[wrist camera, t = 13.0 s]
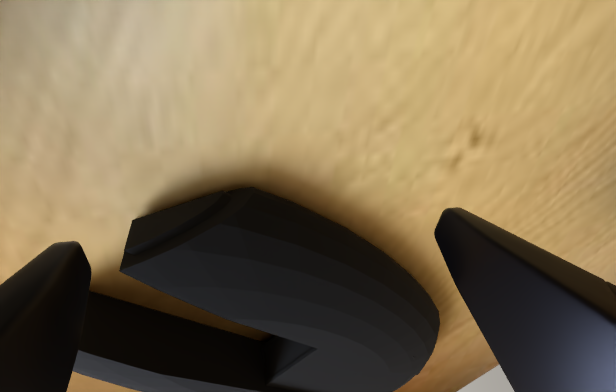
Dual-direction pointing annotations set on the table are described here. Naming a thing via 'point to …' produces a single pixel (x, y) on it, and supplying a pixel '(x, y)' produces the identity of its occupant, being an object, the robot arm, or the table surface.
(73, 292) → the robot arm
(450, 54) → the table surface
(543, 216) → the table surface
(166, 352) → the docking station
